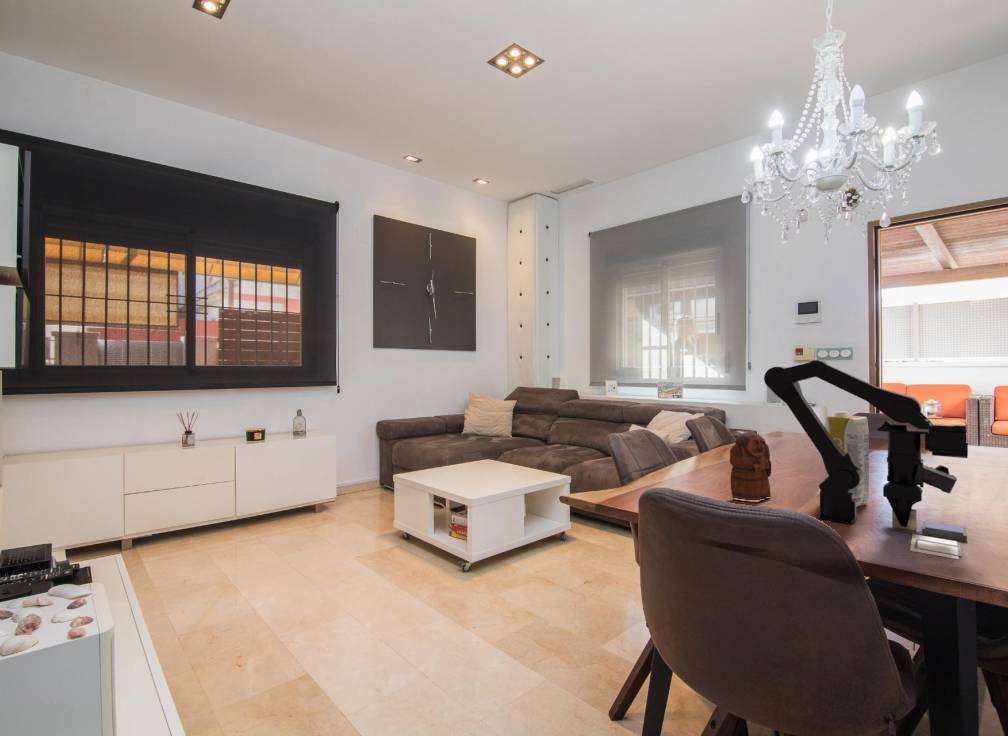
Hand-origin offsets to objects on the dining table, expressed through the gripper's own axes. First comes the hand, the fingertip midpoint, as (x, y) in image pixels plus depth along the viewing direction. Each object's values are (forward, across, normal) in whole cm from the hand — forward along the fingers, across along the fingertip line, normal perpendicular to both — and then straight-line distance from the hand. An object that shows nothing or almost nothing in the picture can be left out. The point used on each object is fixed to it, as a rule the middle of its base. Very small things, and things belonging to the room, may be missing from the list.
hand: (904, 524), depth 109 cm
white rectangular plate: (+1, -9, -5) cm, 10 cm away
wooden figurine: (+2, +6, +32) cm, 33 cm away
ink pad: (+1, +2, -6) cm, 7 cm away
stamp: (+1, 0, 0) cm, 1 cm away
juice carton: (+1, +17, +12) cm, 21 cm away
